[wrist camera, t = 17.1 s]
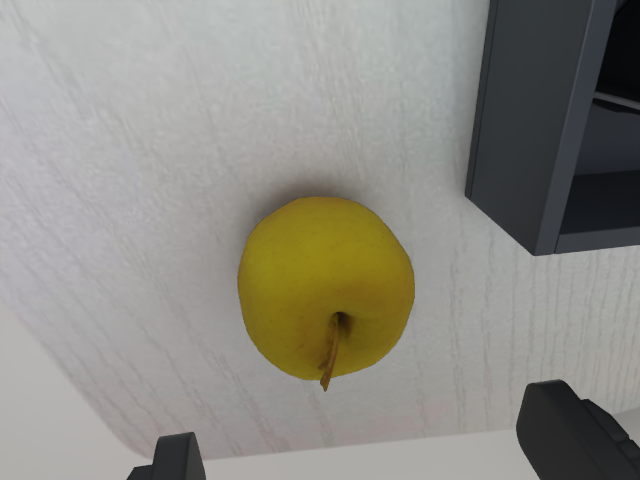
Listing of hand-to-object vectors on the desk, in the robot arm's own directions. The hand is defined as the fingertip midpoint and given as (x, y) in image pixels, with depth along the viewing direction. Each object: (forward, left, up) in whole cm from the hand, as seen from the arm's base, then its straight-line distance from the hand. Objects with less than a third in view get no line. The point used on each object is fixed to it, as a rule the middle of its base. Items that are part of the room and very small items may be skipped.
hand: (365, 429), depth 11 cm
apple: (0, 0, -11) cm, 11 cm away
